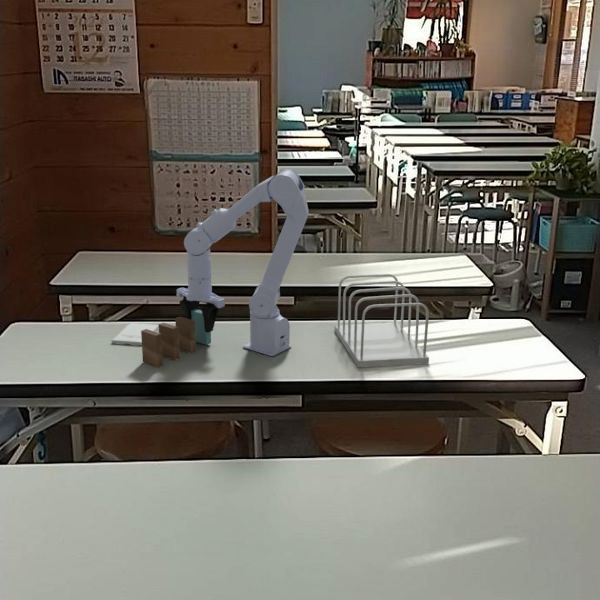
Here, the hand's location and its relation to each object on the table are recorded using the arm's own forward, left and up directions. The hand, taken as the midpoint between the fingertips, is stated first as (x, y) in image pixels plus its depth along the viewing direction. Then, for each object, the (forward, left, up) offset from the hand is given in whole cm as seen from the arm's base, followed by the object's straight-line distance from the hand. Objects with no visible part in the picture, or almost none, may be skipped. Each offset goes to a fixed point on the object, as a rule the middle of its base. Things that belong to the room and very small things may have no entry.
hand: (201, 328), depth 184 cm
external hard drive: (+17, +7, -5) cm, 19 cm away
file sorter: (-36, -26, -4) cm, 45 cm away
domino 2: (0, +11, -4) cm, 12 cm away
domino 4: (0, 0, -3) cm, 3 cm away
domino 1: (0, +17, -4) cm, 17 cm away
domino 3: (0, +6, -4) cm, 7 cm away
